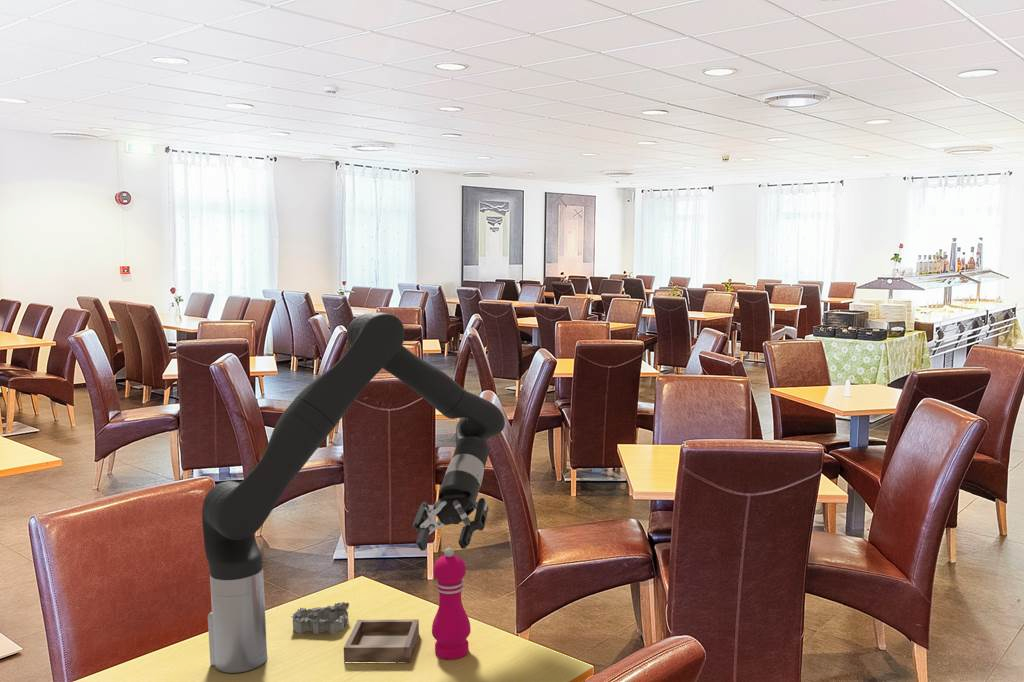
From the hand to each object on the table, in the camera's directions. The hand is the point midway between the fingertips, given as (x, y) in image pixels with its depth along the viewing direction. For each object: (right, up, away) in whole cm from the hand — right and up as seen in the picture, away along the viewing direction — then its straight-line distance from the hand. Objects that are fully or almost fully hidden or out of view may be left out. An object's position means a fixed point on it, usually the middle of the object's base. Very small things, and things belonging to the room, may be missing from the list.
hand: (441, 547), depth 158 cm
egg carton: (-25, -19, +12) cm, 34 cm away
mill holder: (-11, -20, +2) cm, 23 cm away
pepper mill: (+2, -20, 0) cm, 20 cm away
